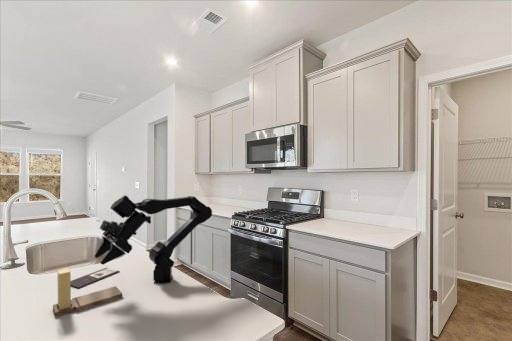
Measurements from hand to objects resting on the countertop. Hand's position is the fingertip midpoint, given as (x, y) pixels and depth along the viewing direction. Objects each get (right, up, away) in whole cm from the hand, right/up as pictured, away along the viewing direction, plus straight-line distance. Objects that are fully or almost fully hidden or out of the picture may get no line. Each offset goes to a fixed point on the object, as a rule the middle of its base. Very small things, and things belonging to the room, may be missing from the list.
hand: (98, 260), depth 94 cm
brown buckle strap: (-2, -14, -2) cm, 14 cm away
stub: (-7, -14, -7) cm, 17 cm away
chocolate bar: (-13, -14, +18) cm, 27 cm away
